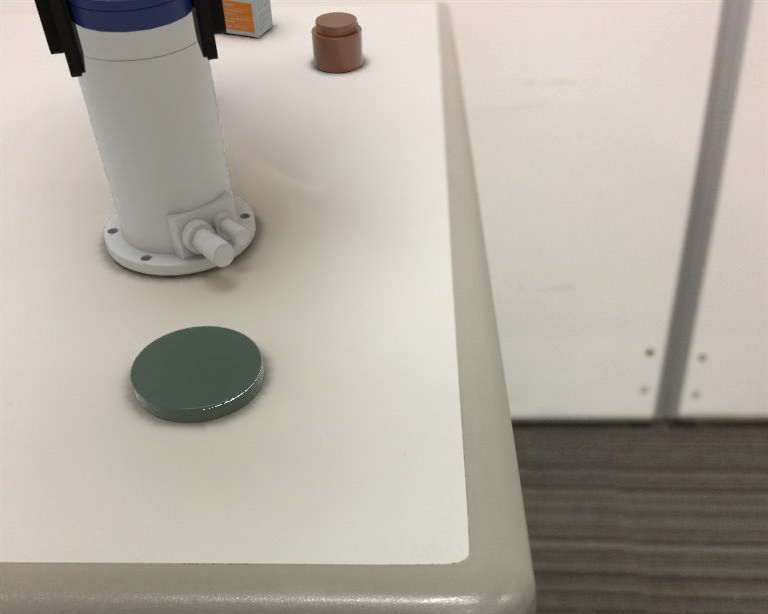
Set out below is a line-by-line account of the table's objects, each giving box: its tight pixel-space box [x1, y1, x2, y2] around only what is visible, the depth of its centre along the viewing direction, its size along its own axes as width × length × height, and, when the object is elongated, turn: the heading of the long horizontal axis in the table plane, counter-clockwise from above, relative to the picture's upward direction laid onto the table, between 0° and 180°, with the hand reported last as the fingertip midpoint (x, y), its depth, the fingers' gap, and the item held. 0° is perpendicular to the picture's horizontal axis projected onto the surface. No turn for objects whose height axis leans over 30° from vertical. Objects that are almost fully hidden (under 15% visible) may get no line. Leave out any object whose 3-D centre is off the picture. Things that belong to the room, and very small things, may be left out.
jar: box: [311, 11, 364, 74], centre depth 92 cm, size 6×6×4 cm
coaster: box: [129, 325, 265, 423], centre depth 57 cm, size 9×9×1 cm
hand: (142, 54), depth 41 cm, fingers closed on jar lid, 5 cm apart
